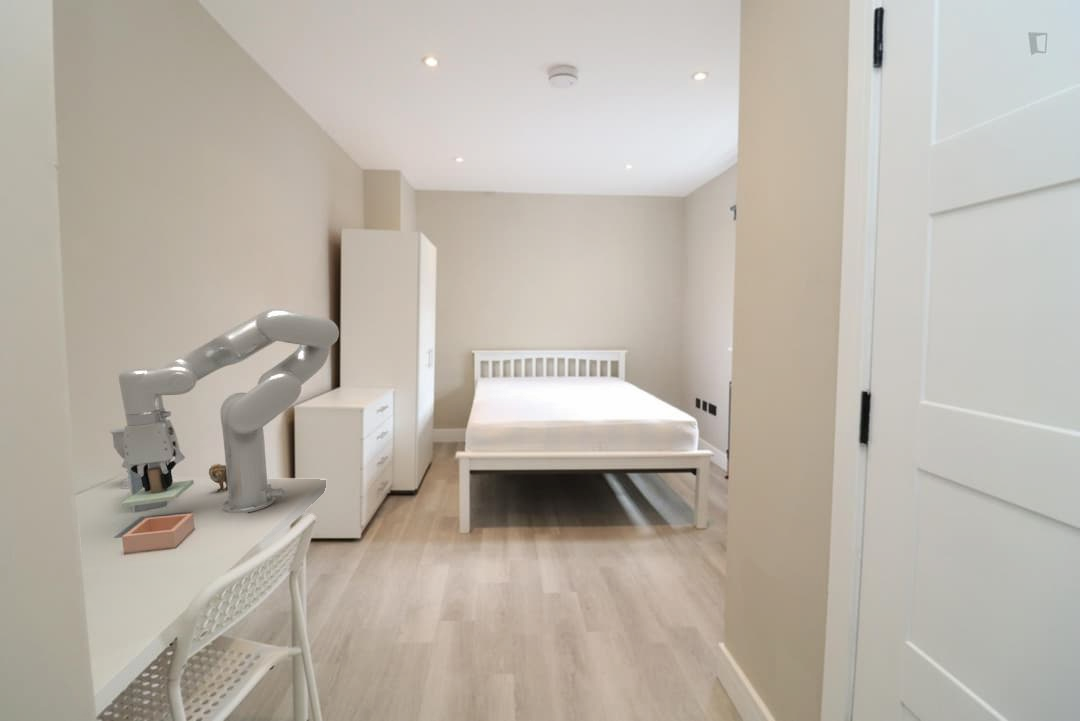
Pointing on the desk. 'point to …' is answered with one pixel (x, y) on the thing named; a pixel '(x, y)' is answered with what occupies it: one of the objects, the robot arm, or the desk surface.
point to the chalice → (120, 450)
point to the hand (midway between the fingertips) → (158, 487)
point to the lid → (157, 490)
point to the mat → (141, 521)
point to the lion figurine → (219, 475)
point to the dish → (158, 533)
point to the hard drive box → (137, 485)
